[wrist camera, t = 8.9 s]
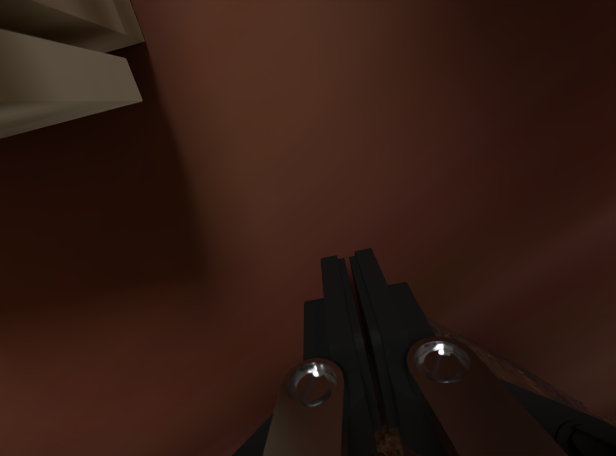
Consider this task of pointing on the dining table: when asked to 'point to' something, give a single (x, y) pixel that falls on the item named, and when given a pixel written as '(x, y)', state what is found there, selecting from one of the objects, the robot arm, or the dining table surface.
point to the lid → (57, 83)
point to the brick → (502, 369)
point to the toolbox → (74, 22)
